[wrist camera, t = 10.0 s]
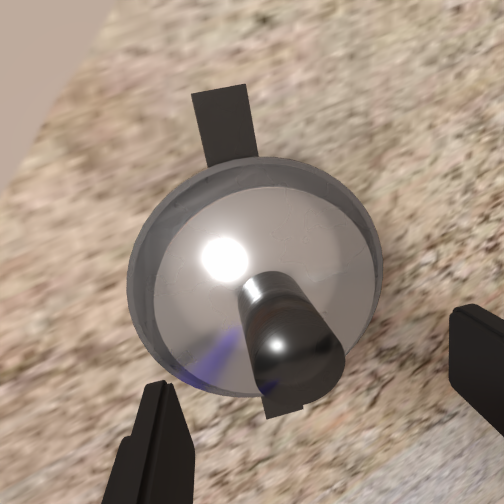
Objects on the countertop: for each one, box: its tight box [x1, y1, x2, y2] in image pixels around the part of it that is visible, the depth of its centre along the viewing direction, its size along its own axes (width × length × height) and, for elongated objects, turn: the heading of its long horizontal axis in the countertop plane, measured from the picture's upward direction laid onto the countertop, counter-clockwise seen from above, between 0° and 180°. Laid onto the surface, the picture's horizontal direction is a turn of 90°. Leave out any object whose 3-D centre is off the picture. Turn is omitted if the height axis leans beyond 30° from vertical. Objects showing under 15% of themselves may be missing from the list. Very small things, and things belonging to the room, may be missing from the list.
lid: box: [154, 185, 375, 406], centre depth 13 cm, size 11×11×6 cm
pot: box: [127, 84, 383, 419], centre depth 20 cm, size 14×20×9 cm
